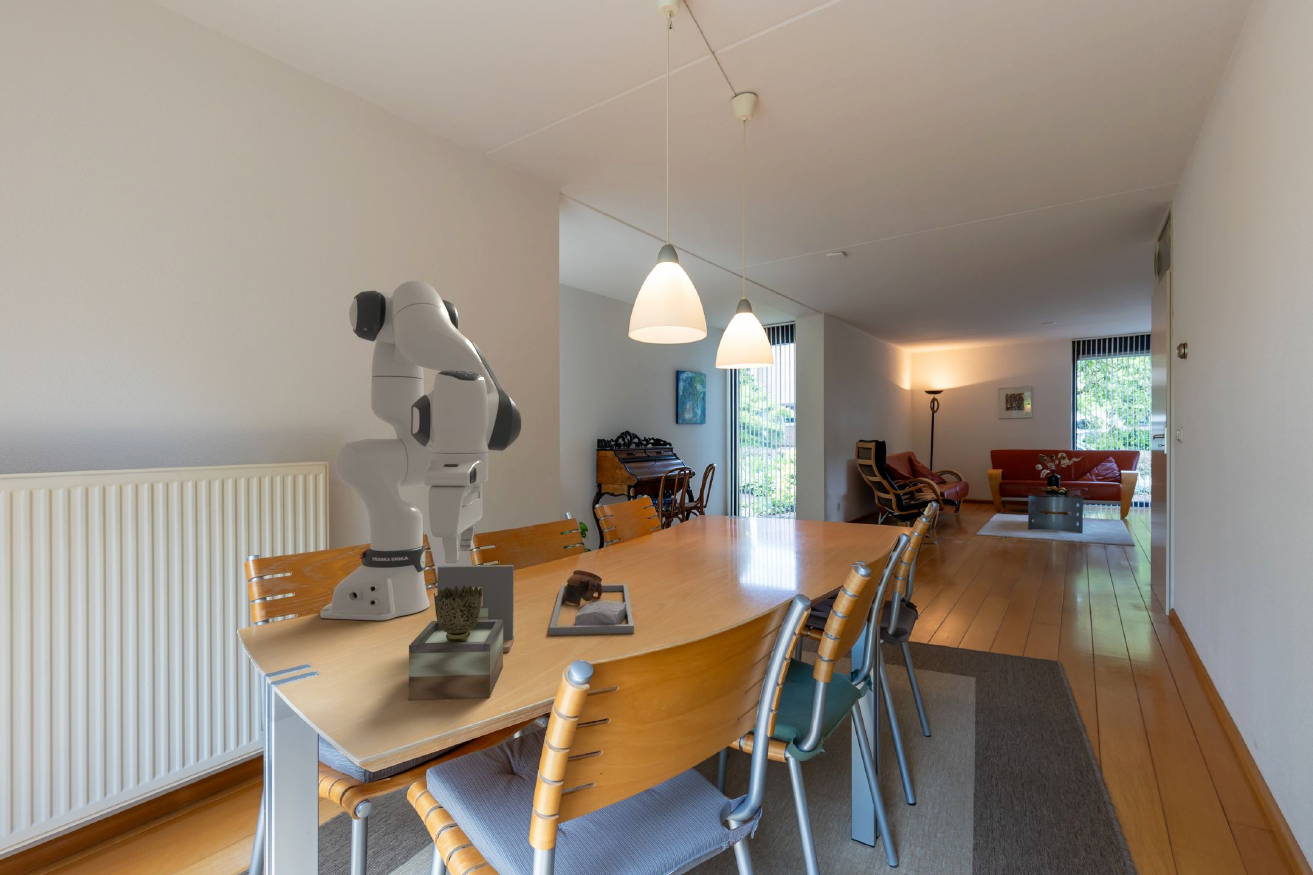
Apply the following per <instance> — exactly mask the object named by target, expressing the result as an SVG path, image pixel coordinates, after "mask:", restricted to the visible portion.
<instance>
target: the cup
mask: <svg viewBox="0 0 1313 875" xmlns="http://www.w3.org/2000/svg"><path fill="white" fill-rule="evenodd" d="M482 592H483V591H482V588H480V589H479V590H478V588H477V586H476V587H475V588H474V590H473V588H472V587H471V586H469V587H466V586H465V585H464V586H463V587H462V589H461V590H460V591H459V589H458V587H457V586H455V588H454V590H453V589H451V588H448V587H445V588H444V589H443V590H440V589H439V590H438V595H436V593H435V592H433V597H434V598H433V599H434V607H435V608H434V609H435V617H436V621H437V622H438V625H439V627H440V628H441V629H442V630H443V631H445V632H447V634H446V639H447V641H449V642H464V641H466V640H468V639H469V637H470V632H469V630H471V629H472V628H474V626H475V625H476V624H477V622H478V619H479V614H480V608H481V600H482Z"/></svg>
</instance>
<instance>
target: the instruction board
mask: <svg viewBox="0 0 1313 875" xmlns="http://www.w3.org/2000/svg"><path fill="white" fill-rule="evenodd" d="M514 567H515V565H514V564H498V565H495V564H493V565H491V564H490V565H439V566H437V573H436V574H437V588H436V589H437V595H438V590H439V589H440V590H443V589H444V588H445V587H448V588H451V589H453V590H454V588H455V586H457V587H458V589H459V591H460V590H461V589H462V587H463V586H464V585H465V586H466V587H469V586H471V587H472V588H473V590H474V588H475V587H476V586H477V588H478V590H479V589H480V588H482V591H483V592H482V600H481V608H480V614H479V619H478V620H503V653H510V652H511V650H512V647H513V644H514V643H513V642H515V636H514V606H515V605H514V599H515V598H514V591H515V590H514V589H515V588H514V584H515V582H514V579H515V575H514V574H515V568H514Z"/></svg>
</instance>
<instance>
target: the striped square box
mask: <svg viewBox="0 0 1313 875" xmlns="http://www.w3.org/2000/svg"><path fill="white" fill-rule="evenodd" d="M469 632H470V637H469V639H468V640H466V641H464V642H449V641H447V639H446V634H447V632H445V631H443V630H442V629H441V628H440V627H439V625H438V622H437V620H432V621H430V622H429V623H428V624H427V625H426V627H425V628H423V629H422V631H421V632H420V633H419V634H418V635H417V636H416V637H415V638H414V639H413V641H412V642H411V643H410V644H409V645H408V700H409V701H417V700H420V701H423V700H449V699H450V700H451V699H452V700H454V699H477V698H479V699H480V698H482V699H483V698H491V696H492V694H493V691H494V689H495V687H496V684H497V682H498V679H499V677H500V675H501V672H502V670H503V668H504V652H503V620H478V622H477V624H476V625H475V626H474V628H472V629H471V630H469Z"/></svg>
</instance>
